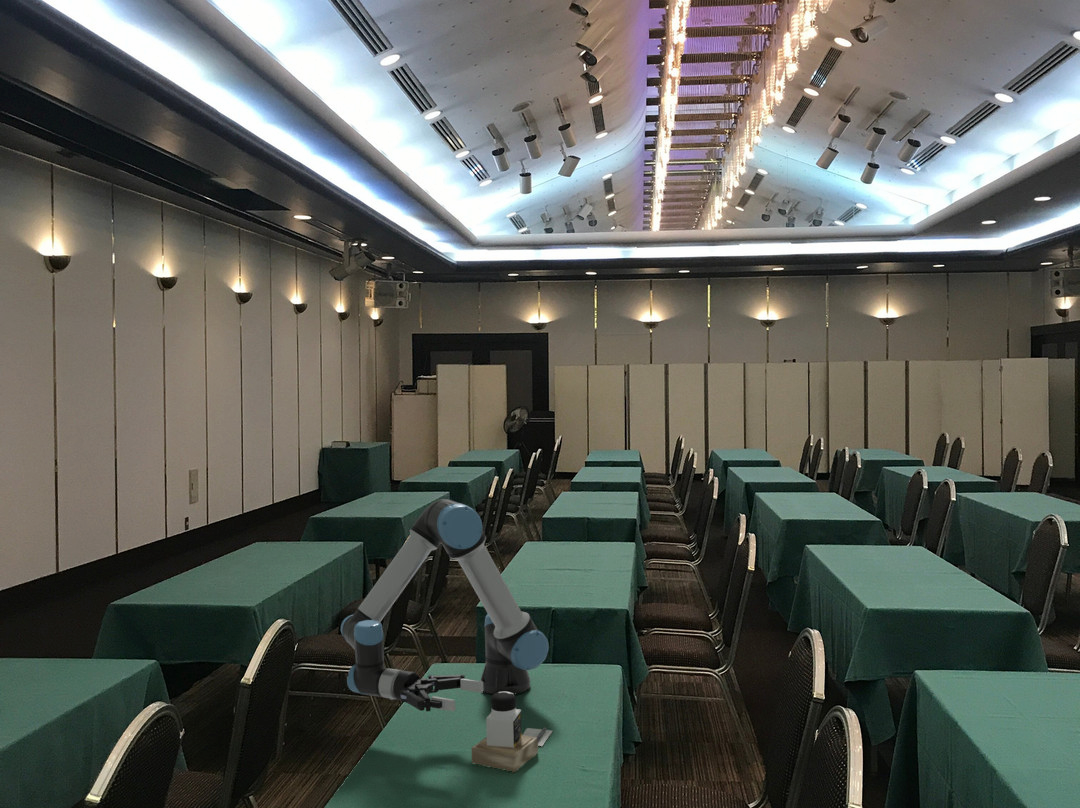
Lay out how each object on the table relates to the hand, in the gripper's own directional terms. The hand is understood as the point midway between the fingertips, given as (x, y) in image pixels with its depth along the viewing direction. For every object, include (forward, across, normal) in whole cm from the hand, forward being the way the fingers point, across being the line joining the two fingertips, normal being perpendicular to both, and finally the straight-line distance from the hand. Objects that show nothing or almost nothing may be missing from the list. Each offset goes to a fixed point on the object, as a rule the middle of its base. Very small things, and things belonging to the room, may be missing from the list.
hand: (469, 696), depth 231 cm
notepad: (+11, -14, -15) cm, 23 cm away
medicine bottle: (+10, 0, -10) cm, 14 cm away
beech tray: (+10, 0, -14) cm, 17 cm away
